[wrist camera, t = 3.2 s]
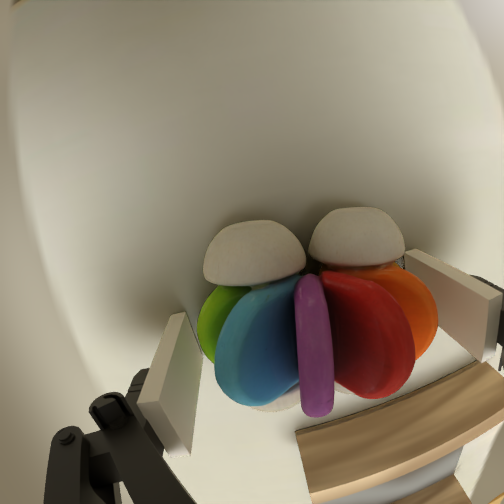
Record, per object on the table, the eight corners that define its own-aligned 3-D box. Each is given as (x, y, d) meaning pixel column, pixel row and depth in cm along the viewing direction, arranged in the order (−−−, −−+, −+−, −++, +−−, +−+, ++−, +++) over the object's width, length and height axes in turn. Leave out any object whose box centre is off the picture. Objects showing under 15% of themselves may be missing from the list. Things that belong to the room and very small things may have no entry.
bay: (294, 431, 17) (309, 493, 12) (481, 357, 17) (522, 394, 12) (321, 527, 22) (331, 565, 17) (449, 478, 21) (468, 509, 17)
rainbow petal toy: (389, 349, 16) (453, 432, 9) (217, 380, 16) (213, 490, 9) (390, 198, 14) (495, 224, 7) (185, 224, 14) (141, 277, 7)
